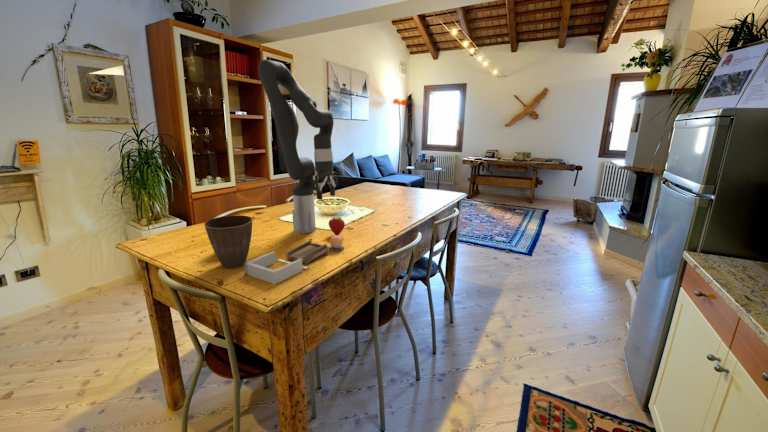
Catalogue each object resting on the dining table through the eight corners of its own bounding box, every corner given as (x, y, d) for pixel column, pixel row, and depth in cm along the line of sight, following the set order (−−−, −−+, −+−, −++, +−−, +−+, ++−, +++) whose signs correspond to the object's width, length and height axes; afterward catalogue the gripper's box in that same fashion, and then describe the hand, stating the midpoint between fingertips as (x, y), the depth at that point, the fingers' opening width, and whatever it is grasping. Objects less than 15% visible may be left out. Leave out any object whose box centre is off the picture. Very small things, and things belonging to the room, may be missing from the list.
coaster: (325, 249, 133) (325, 248, 133) (335, 245, 138) (335, 244, 138) (337, 252, 130) (337, 251, 130) (347, 247, 135) (346, 246, 135)
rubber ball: (327, 248, 133) (326, 236, 132) (335, 244, 137) (335, 233, 136) (337, 251, 131) (337, 238, 129) (345, 247, 135) (344, 235, 134)
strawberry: (333, 232, 154) (332, 211, 151) (347, 234, 151) (347, 213, 148) (326, 236, 149) (325, 214, 146) (340, 238, 146) (340, 216, 143)
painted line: (277, 260, 123) (277, 259, 123) (279, 259, 124) (279, 258, 123) (305, 268, 116) (305, 268, 116) (307, 267, 117) (307, 267, 117)
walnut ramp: (286, 259, 124) (285, 249, 123) (309, 249, 134) (308, 239, 133) (306, 265, 119) (305, 254, 118) (328, 254, 129) (328, 244, 128)
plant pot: (261, 267, 117) (256, 223, 112) (213, 277, 109) (207, 230, 105) (251, 253, 129) (247, 213, 125) (208, 261, 121) (202, 219, 117)
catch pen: (245, 274, 112) (244, 262, 110) (273, 261, 121) (273, 251, 120) (275, 284, 105) (274, 272, 104) (302, 270, 115) (301, 259, 113)
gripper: (327, 157, 149) (330, 194, 153) (305, 161, 137) (308, 200, 141) (341, 158, 145) (343, 195, 149) (319, 161, 133) (322, 201, 138)
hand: (326, 197), depth 145 cm, fingers open, 8 cm apart
